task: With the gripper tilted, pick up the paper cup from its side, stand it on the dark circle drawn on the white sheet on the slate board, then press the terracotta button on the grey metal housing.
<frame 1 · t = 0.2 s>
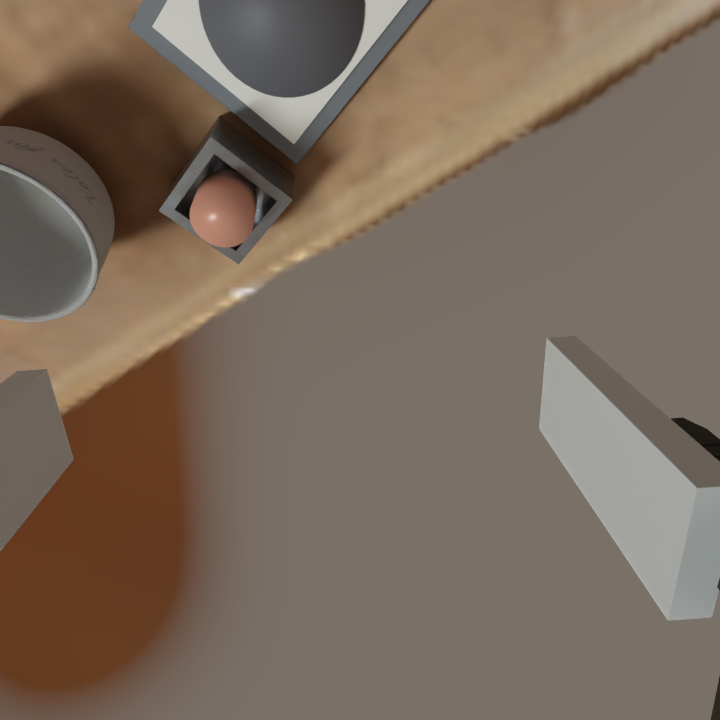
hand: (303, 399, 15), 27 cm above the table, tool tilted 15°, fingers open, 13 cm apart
button housing: (232, 181, 38), on the table
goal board: (283, 6, 32), on the table
done button: (224, 208, 35), point 5 cm above the table, slide at 0.0 cm
teacup: (22, 186, 38), on the table
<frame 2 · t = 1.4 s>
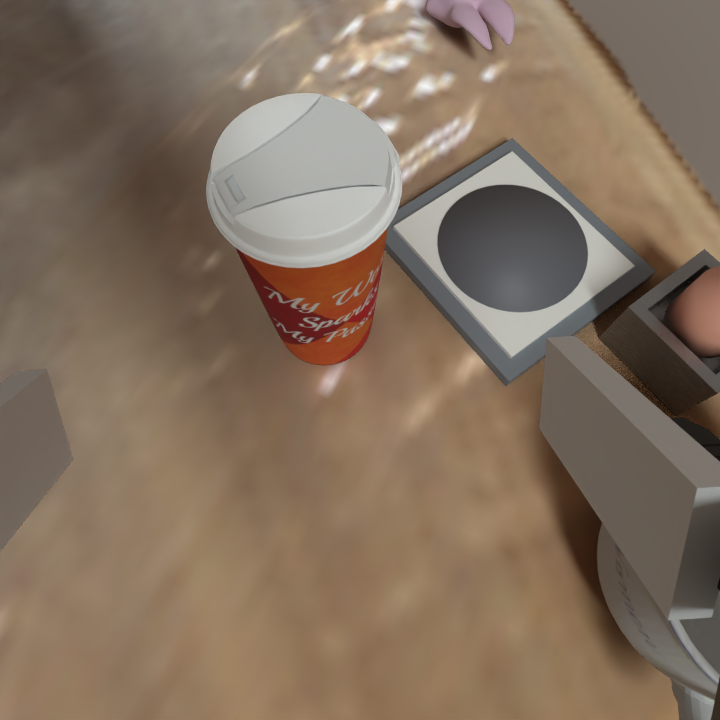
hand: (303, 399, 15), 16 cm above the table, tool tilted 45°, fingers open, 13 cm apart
button housing: (671, 347, 33), on the table
paper cup: (326, 324, 34), on the table
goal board: (507, 255, 35), on the table
pink unicorn toy: (450, 17, 44), on the table
done button: (716, 313, 29), point 5 cm above the table, slide at 0.0 cm
teacup: (670, 602, 28), on the table
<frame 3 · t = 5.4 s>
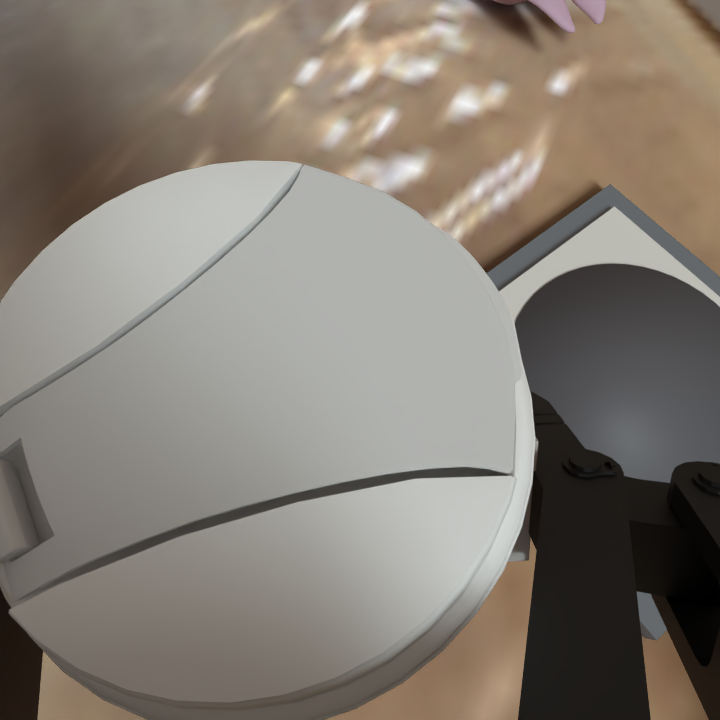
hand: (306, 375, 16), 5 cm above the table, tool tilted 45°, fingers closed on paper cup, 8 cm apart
paper cup: (323, 516, 20), on the table, touching gripper
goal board: (620, 382, 21), on the table
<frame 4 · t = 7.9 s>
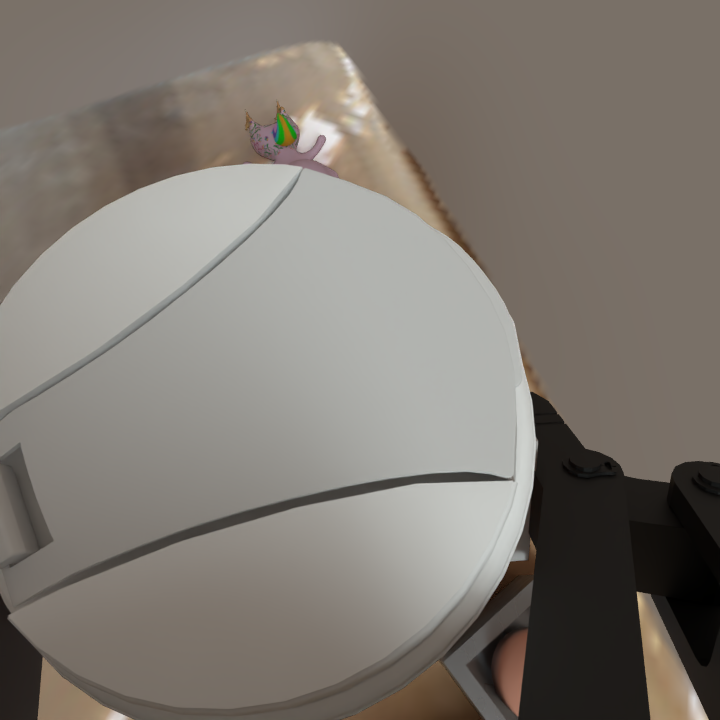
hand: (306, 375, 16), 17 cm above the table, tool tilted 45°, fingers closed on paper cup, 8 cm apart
button housing: (516, 664, 28), on the table
paper cup: (323, 518, 20), point 12 cm above the table, touching gripper
pink unicorn toy: (302, 198, 40), on the table
done button: (542, 677, 24), point 4 cm above the table, slide at 0.0 cm
when the fingers open (8 cm above the table, at t = 10.4 s): paper cup drops 1 cm, resting on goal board.
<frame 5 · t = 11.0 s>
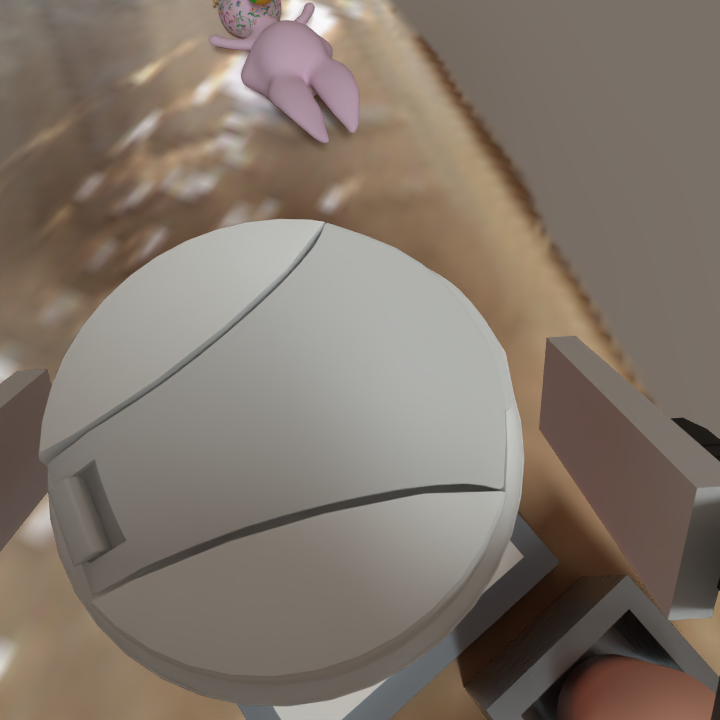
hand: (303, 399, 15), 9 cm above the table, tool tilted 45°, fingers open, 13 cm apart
button housing: (584, 704, 20), on the table
paper cup: (331, 523, 21), point 1 cm above the table, touching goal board
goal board: (327, 523, 22), on the table
pink unicorn toy: (286, 85, 31), on the table
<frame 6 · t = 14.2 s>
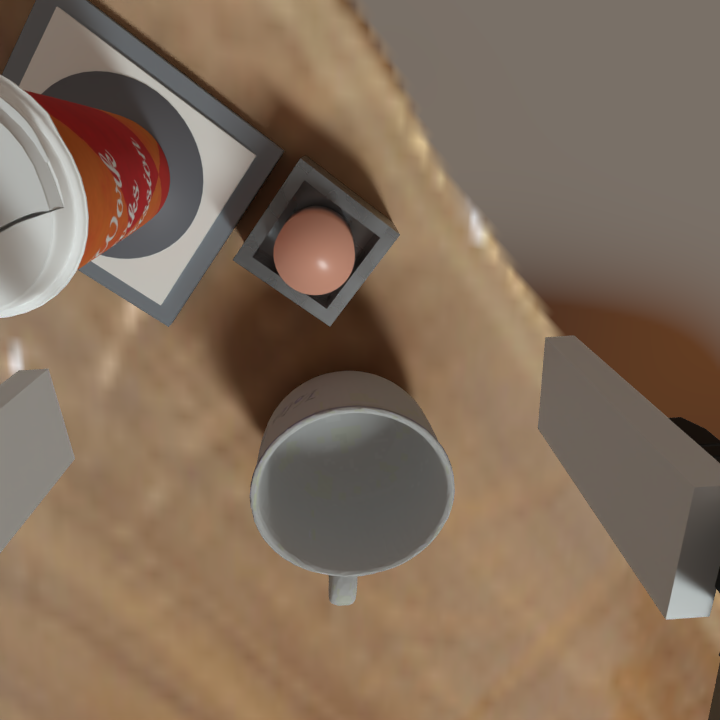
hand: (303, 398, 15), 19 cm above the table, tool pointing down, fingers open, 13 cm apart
button housing: (318, 233, 31), on the table
paper cup: (118, 171, 29), point 1 cm above the table, touching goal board
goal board: (121, 169, 30), on the table
done button: (315, 249, 27), point 4 cm above the table, slide at 0.0 cm
teacup: (344, 445, 37), on the table
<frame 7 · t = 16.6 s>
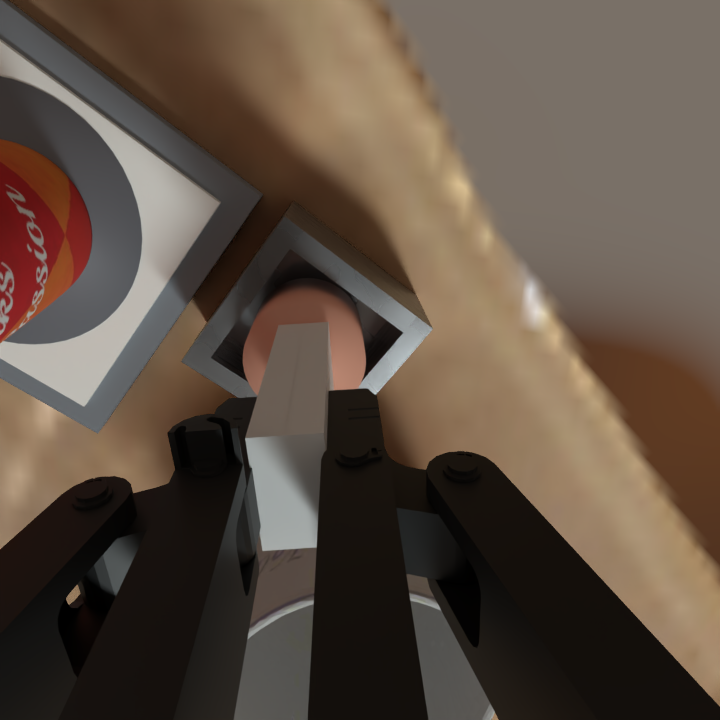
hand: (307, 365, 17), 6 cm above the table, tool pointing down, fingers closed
button housing: (311, 309, 22), on the table
paper cup: (15, 221, 19), point 1 cm above the table, touching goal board
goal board: (23, 216, 20), on the table
done button: (306, 344, 19), point 4 cm above the table, slide at 0.5 cm, touching gripper
teacup: (341, 575, 28), on the table
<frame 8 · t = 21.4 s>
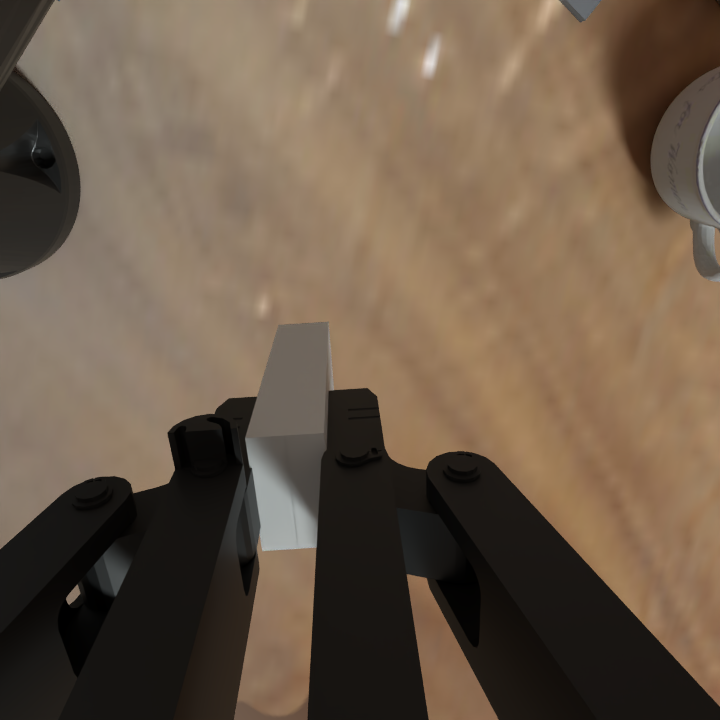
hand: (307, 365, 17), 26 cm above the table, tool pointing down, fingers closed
teacup: (693, 166, 41), on the table
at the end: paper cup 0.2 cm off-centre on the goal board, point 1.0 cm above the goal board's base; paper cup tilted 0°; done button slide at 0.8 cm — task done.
